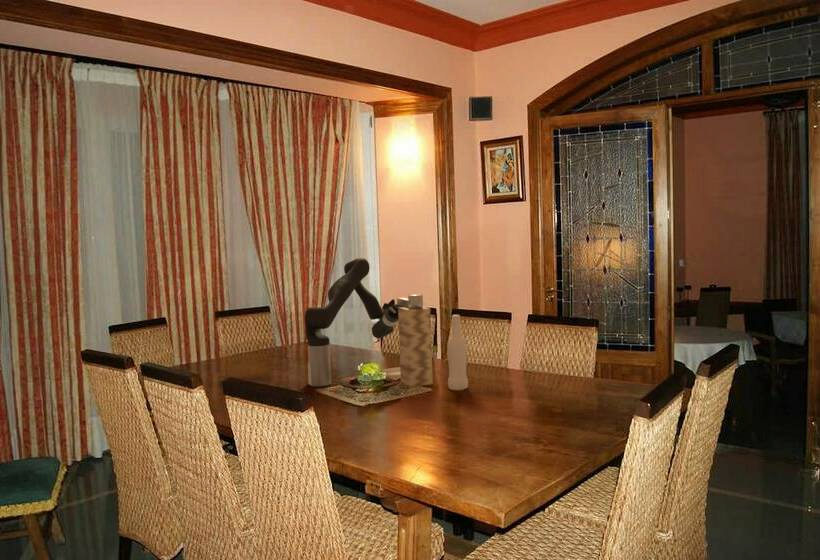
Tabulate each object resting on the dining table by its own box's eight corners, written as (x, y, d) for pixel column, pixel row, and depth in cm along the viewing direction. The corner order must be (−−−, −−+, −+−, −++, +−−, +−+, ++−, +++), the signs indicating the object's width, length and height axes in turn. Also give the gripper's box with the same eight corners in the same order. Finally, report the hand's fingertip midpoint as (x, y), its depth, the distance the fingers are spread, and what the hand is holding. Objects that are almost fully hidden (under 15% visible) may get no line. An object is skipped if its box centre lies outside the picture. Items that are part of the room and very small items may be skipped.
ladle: (411, 309, 266) (411, 296, 265) (393, 305, 285) (393, 292, 285) (425, 308, 268) (424, 295, 267) (406, 304, 287) (406, 291, 287)
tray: (387, 381, 278) (387, 375, 278) (376, 375, 291) (376, 369, 290) (417, 377, 283) (417, 372, 283) (405, 371, 296) (405, 366, 296)
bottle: (461, 391, 256) (458, 316, 254) (444, 389, 261) (441, 315, 259) (471, 387, 262) (469, 314, 260) (455, 385, 267) (453, 313, 265)
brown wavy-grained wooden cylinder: (410, 386, 267) (407, 310, 264) (400, 381, 277) (398, 307, 275) (432, 384, 270) (430, 308, 268) (422, 378, 281) (419, 305, 278)
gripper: (376, 309, 295) (386, 293, 281) (405, 306, 300) (416, 291, 287) (379, 324, 292) (389, 309, 278) (408, 321, 297) (419, 306, 284)
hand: (403, 300), depth 283 cm, fingers open, 8 cm apart
